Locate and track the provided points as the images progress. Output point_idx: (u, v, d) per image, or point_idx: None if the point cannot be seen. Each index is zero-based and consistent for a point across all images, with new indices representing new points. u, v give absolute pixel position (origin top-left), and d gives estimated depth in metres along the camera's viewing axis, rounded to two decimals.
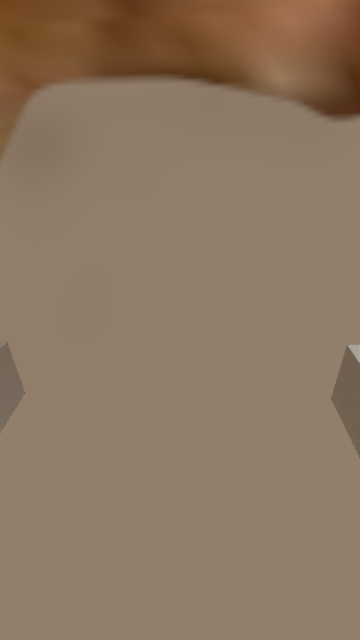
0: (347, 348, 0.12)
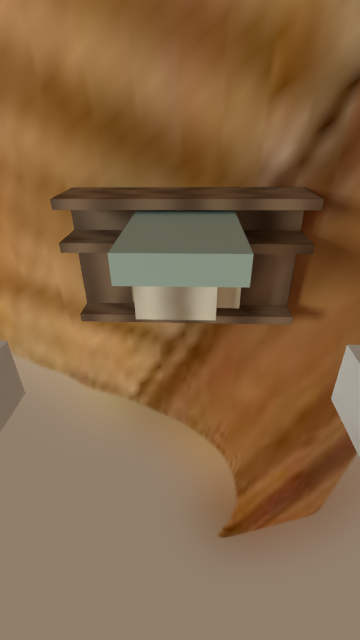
0: (347, 348, 0.12)
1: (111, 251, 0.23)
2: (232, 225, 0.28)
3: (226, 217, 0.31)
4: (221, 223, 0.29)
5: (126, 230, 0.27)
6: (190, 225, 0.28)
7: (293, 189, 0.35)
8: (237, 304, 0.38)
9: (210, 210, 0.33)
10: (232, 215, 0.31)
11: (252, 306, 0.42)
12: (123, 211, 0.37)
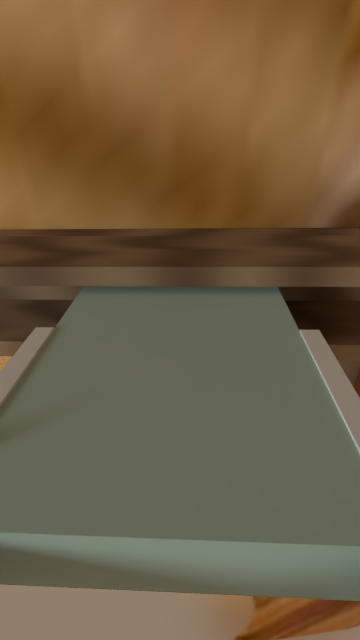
0: (300, 332, 0.13)
1: None
2: (284, 339, 0.13)
3: (263, 305, 0.15)
4: (257, 330, 0.13)
5: (38, 363, 0.12)
6: (189, 340, 0.13)
7: None
8: None
9: None
10: (274, 297, 0.16)
11: None
12: None
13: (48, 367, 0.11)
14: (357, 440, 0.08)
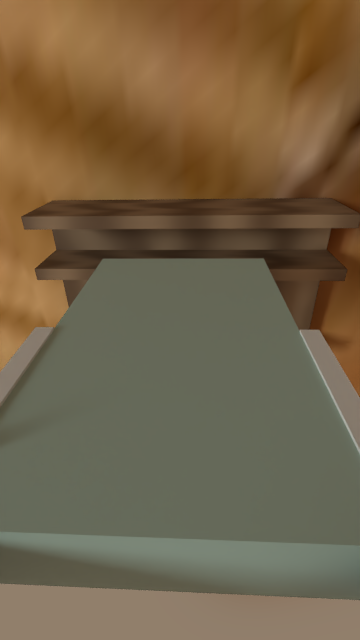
0: (300, 332, 0.13)
1: None
2: (284, 339, 0.13)
3: (263, 305, 0.15)
4: (257, 330, 0.13)
5: (38, 363, 0.12)
6: (189, 340, 0.13)
7: (318, 201, 0.29)
8: None
9: (228, 279, 0.17)
10: (274, 297, 0.16)
11: None
12: (113, 228, 0.31)
13: (48, 367, 0.11)
14: (357, 440, 0.08)
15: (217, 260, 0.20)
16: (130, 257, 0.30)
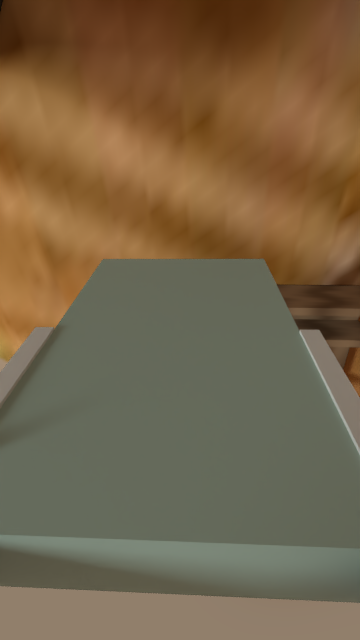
0: (300, 332, 0.13)
1: None
2: (284, 340, 0.13)
3: (264, 305, 0.15)
4: (258, 331, 0.13)
5: (38, 364, 0.12)
6: (190, 341, 0.13)
7: (354, 289, 0.42)
8: None
9: (228, 280, 0.17)
10: (274, 297, 0.16)
11: None
12: None
13: (48, 368, 0.11)
14: (357, 440, 0.08)
15: (217, 261, 0.20)
16: None
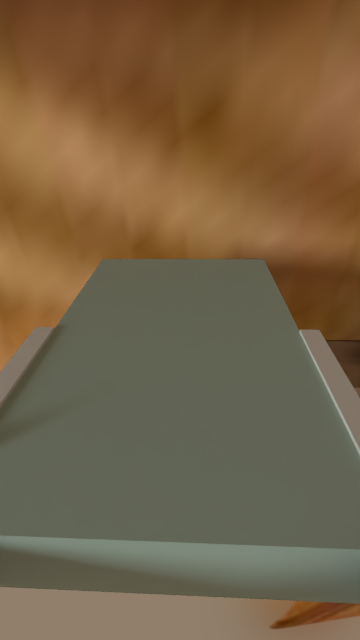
0: (300, 332, 0.13)
1: None
2: (284, 340, 0.13)
3: (264, 306, 0.15)
4: (258, 331, 0.13)
5: (38, 364, 0.12)
6: (189, 341, 0.13)
7: None
8: None
9: (228, 280, 0.17)
10: (274, 298, 0.16)
11: None
12: None
13: (48, 368, 0.11)
14: (357, 440, 0.08)
15: (217, 261, 0.20)
16: None
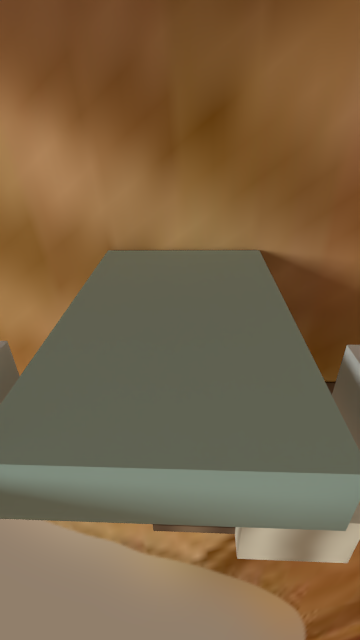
0: (347, 348, 0.12)
1: None
2: (275, 318, 0.14)
3: (258, 290, 0.16)
4: (252, 311, 0.14)
5: (54, 338, 0.13)
6: (190, 319, 0.14)
7: None
8: None
9: (225, 268, 0.19)
10: (268, 283, 0.17)
11: None
12: None
13: (63, 341, 0.13)
14: None
15: (215, 252, 0.21)
16: None
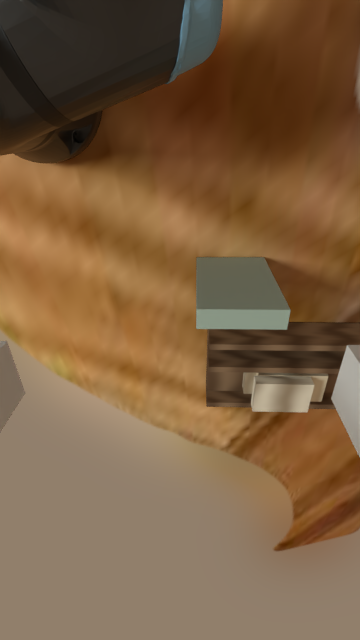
0: (347, 348, 0.12)
1: (198, 307, 0.36)
2: (270, 281, 0.41)
3: (264, 273, 0.43)
4: (262, 279, 0.42)
5: (199, 287, 0.40)
6: (241, 282, 0.41)
7: None
8: (320, 399, 0.55)
9: (250, 265, 0.46)
10: (267, 270, 0.44)
11: (325, 394, 0.59)
12: None
13: (202, 288, 0.40)
14: None
15: (245, 258, 0.48)
16: (255, 356, 0.53)
